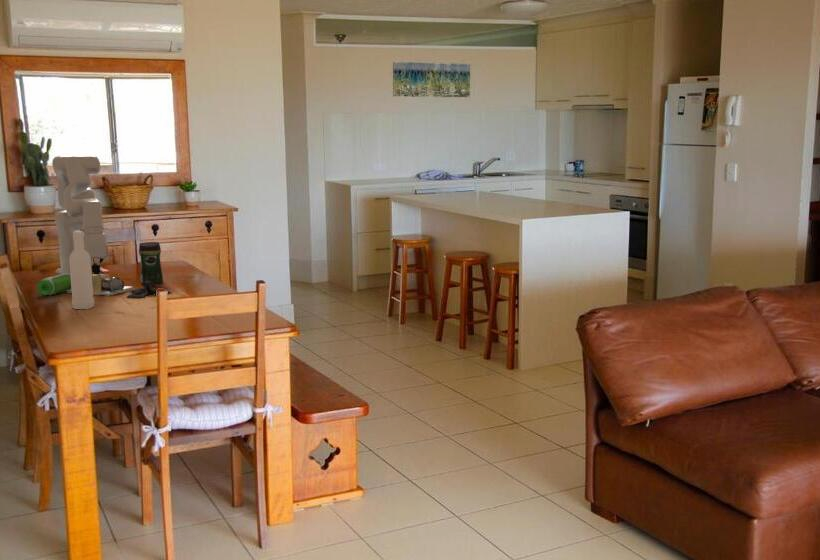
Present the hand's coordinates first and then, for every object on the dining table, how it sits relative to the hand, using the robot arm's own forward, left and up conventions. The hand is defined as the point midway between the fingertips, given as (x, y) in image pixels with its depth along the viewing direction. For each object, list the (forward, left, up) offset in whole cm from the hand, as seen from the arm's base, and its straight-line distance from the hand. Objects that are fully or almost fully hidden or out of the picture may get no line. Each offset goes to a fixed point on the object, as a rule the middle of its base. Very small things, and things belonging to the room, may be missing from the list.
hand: (96, 273), depth 367 cm
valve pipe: (-5, +8, -9) cm, 13 cm away
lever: (-1, +4, -2) cm, 5 cm away
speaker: (-21, 0, -10) cm, 23 cm away
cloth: (+20, +10, -10) cm, 24 cm away
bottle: (+12, -23, -9) cm, 28 cm away
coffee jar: (+4, +32, -9) cm, 33 cm away
